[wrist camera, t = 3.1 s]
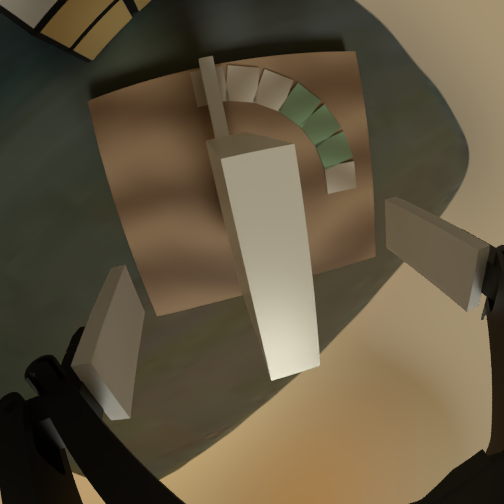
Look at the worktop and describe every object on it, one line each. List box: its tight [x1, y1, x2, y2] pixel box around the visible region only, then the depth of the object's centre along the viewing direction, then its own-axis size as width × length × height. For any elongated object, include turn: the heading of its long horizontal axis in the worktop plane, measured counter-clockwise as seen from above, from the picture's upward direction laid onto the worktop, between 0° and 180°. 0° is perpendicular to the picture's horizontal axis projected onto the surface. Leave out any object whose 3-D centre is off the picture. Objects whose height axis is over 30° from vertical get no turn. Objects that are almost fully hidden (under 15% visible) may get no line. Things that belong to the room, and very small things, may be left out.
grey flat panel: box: [198, 56, 320, 381], centre depth 16 cm, size 15×2×12 cm, turn 11°
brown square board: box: [88, 51, 375, 316], centre depth 23 cm, size 18×20×2 cm
